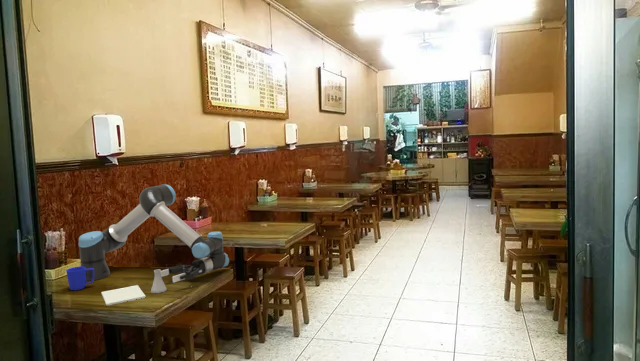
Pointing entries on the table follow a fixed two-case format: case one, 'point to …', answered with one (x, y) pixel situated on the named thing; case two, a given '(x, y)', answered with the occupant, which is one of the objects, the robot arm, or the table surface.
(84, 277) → the mug
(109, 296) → the white rectangular board
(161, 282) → the flask
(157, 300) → the table surface
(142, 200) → the robot arm
